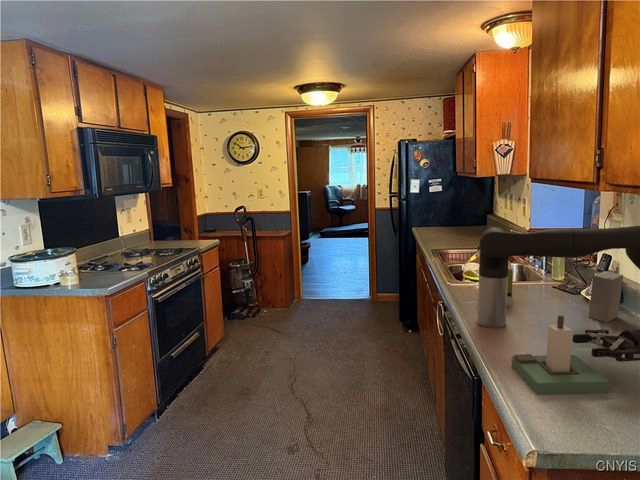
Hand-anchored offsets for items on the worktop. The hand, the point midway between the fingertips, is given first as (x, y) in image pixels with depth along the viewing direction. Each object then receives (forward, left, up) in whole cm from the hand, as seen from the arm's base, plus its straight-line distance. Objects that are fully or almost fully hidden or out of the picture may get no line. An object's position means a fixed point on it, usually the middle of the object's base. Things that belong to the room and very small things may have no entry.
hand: (582, 345), depth 114 cm
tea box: (-66, +4, -9) cm, 67 cm away
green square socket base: (0, -6, -9) cm, 11 cm away
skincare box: (-42, +32, -9) cm, 54 cm away
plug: (0, -6, -9) cm, 11 cm away
